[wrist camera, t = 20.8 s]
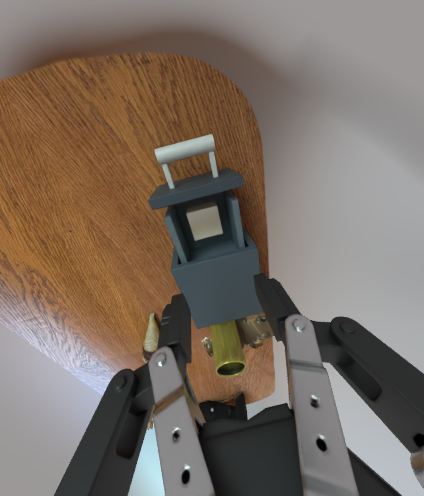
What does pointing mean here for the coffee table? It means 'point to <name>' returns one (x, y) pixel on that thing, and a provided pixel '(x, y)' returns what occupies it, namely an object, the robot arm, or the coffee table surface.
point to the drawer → (198, 190)
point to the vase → (227, 349)
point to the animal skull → (248, 332)
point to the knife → (226, 400)
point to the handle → (224, 410)
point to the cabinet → (220, 284)
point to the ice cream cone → (150, 339)
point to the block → (204, 219)
